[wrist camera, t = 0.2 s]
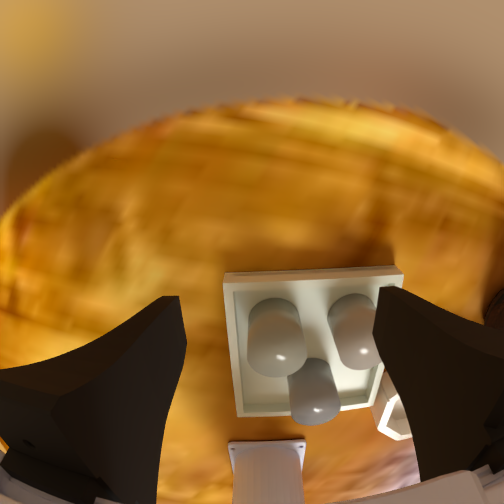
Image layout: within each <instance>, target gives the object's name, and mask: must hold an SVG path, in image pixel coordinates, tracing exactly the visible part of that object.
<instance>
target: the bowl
mask: <svg viewBox="0 0 504 504" xmlns="http://www.w3.org/2000/svg"><path fill="white" fill-rule="evenodd" d="M370 409H371V412H372V415H373V418H374V421H375V424H376V427H377V429H378V431H380V432H382V433H384V434H386V435H387V436H389V437H391V438H393V439H395V440H402V439H407V438H410V437H412V434H411V430H410V426H409V423H408V420H407V416H406V413H405V410H404V407H403V404H402V402H401V400H400V397H399V395H398V393H397V391H396V389H395V387H394V385H393V383H392V381H391V379H390V377H389V375H388V373H387V371H386V372H384V373H383V374H382V378H381V381H380V385H379V388H378V391H377V395H376V398H375V401H374V404H373V406H370Z"/></svg>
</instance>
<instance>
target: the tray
mask: <svg viewBox="0 0 504 504" xmlns="http://www.w3.org/2000/svg"><path fill="white" fill-rule="evenodd" d="M403 277H404V274H403V273H402V272H401V271H400V270H399V269H398V268H397V267H396V266H395V265H388V266H370V267H351V268H330V269H308V270H284V271H258V272H229V273H225V275H224V279H223V292H224V303H225V313H226V323H227V333H228V342H229V351H230V360H231V369H232V378H233V386H234V395H235V403H236V411H237V417H269V416H289V415H291V409H290V400H289V391H288V382H287V376H284V377H267V376H263V375H261V374H259V373H257V372H255V371H254V370H253V369H252V368H251V367H250V365H249V363H248V361H247V339H248V317H249V313H250V311H251V309H252V308H253V307H254V306H255V305H256V304H257V303H259V302H260V301H262V300H265V299H268V298H282V299H285V300H288V301H289V302H291V303H292V304H293V305H294V306H295V307H296V308H297V310H298V312H299V316H300V320H301V325H302V329H303V334H304V338H305V343H306V347H307V358H320V359H323V360H325V361H326V362H327V363H328V364H329V365H330V367H331V371H332V374H333V378H334V381H335V385H336V388H337V392H338V395H339V399H340V403H341V409H340V411H342V410H350V409H357V408H363V407H370V406H373V404H374V401H375V398H376V395H377V391H378V388H379V385H380V381H381V378H382V374H383V370H384V367H385V366H384V364H383V362H381V363H380V364H378V365H376V366H374V367H372V368H369V369H366V370H352V369H349V368H347V367H346V366H345V365H343V363H342V362H341V360H340V357H339V354H338V351H337V348H336V345H335V342H334V339H333V336H332V334H331V331H330V328H329V325H328V321H327V316H328V312H329V310H330V308H331V306H332V305H333V304H334V303H335V302H336V301H337V300H338V299H339V298H341V297H343V296H345V295H348V294H352V293H359V294H363V295H366V296H367V297H369V298H370V299H371V300H372V302H373V304H374V305H375V307H377V301H378V294H379V287H385V286H397V287H399V288H402V283H403Z"/></svg>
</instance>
